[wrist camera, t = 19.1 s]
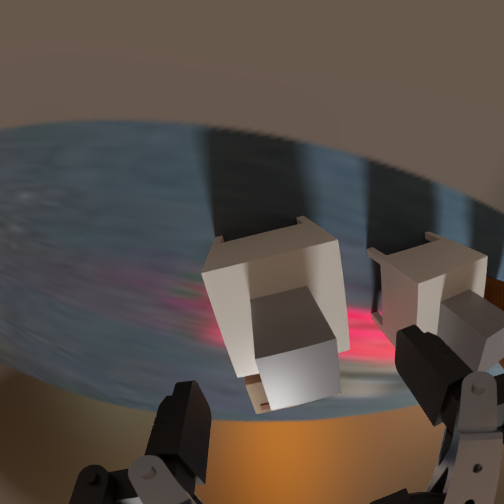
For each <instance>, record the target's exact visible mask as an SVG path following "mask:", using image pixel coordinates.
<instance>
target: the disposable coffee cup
mask: <svg viewBox="0 0 504 504" xmlns="http://www.w3.org/2000/svg"><path fill="white" fill-rule="evenodd" d="M484 299H486V300H487V301H489V302H490V303H492V304H493V305H495V306H496V307H498V308H499V309H501V310H502V311H504V282H503V281H500V280H497V279H494V278H491V277H488V276H486V282H485V290H484ZM499 364H500V365H501V366H502V367H503V369H504V358H503V359H501V360H500V361H499Z"/></svg>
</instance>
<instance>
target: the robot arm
mask: <svg viewBox="0 0 504 504" xmlns="http://www.w3.org/2000/svg"><path fill="white" fill-rule="evenodd" d="M395 365H396V369H397V371H398V373H399V375H400V376H401V377H402V379H403V380H404V382H405V383H406V385H407V386H408V388H409V389H410V391H411V392H412V394H413V395H414V397H415V398H416V400H417V401H418V403H419V404H420V406H421V407H422V409H423V410H424V412H425V413H426V415H427V417H428V418H429V420H430V421H431V423H432V424H433V426H436V425H438V424H440V423H442V422H444V424H445V425H446V427H445V430H444V436H443V440H442V445H441V449H440V454H439V457H438V461H437V465H436V469H435V472H434V474H433V476H432V478H431V481H430V483H429V486H428V488H427V491H426V492H416V493H409V494H408V492H407V489H406V488H405V489H403V490H400V491H398V492H396V493H393V494H391V495H388V496H386V497H383V498H381V499H378V500H375V501H373V502H371V503H370V504H494V499H495V494H496V490H497V484H498V478H499V471H500V464H501V455H502V443H503V444H504V374H501V375H498V376H494V377H493V376H492V375H490V374H489V373H487V372H483V371H476V372H473V371H472V370H471V369H470V368H469V366H468V365H467V364H466V363H465V362H464V361H463V360H462V359H461V358H460V357H459V356H458V355H457V354H456V353H455V352H454V351H452V349H451V348H450V347H449V346H448V345H446V343H445V342H444V341H443V340H442V339H441V338H440V337H439V336H437V335H435V334H432V333H430V332H426V333H424V332H423V331H422V330H421V329H420V328H419V327H418V326H416V325H411V326H408V327H406V328H403V329H401V330H398V331H397V333H396V350H395ZM210 428H211V411H210V407H209V405H208V403H207V401H206V399H205V397H204V395H203V393H202V391H201V389H200V387H199V385H198V383H197V382H196V381H186V382H178V383H176V384H175V387H174V391H173V395H172V396H166V397H165V399H164V400H163V401H162V402H161V404H160V405H159V408H158V411H157V417H156V418H155V421H154V425H153V428H152V431H151V435H150V438H149V441H148V445H147V448H146V452H145V455H144V456H142V457H139V458H138V459H136V460H135V461H133V462H132V464H131V465H130V467H129V469H124V470H119V471H113V472H108V471H107V470H106V469H105V468H103V467H102V466H99V465H90V466H87V467H85V468H84V469H83V470H82V471H81V472H80V473H79V476H78V478H77V481H76V484H75V487H74V490H73V493H72V496H71V499H70V503H69V504H204V503H203V502H202V501H201V500H200V499H199V498H198V496H197V495H196V494H195V493H194V491H195V485H196V484H205V481H206V469H207V459H208V448H209V438H210Z"/></svg>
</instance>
